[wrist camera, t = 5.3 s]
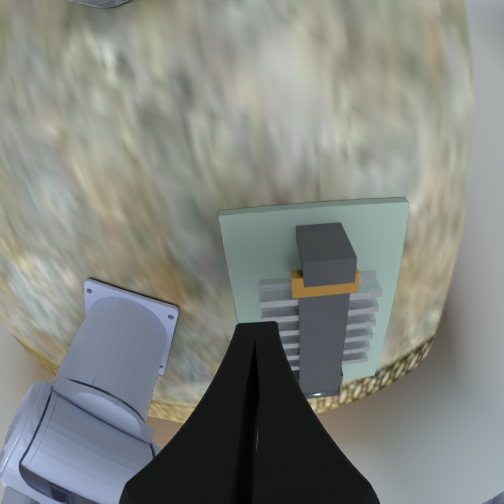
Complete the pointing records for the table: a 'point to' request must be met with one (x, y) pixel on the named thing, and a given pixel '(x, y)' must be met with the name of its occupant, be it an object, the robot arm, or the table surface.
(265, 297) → the heat sink
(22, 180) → the table surface
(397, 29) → the table surface
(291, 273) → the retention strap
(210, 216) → the table surface
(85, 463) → the robot arm
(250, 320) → the socket board
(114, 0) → the energy drink
